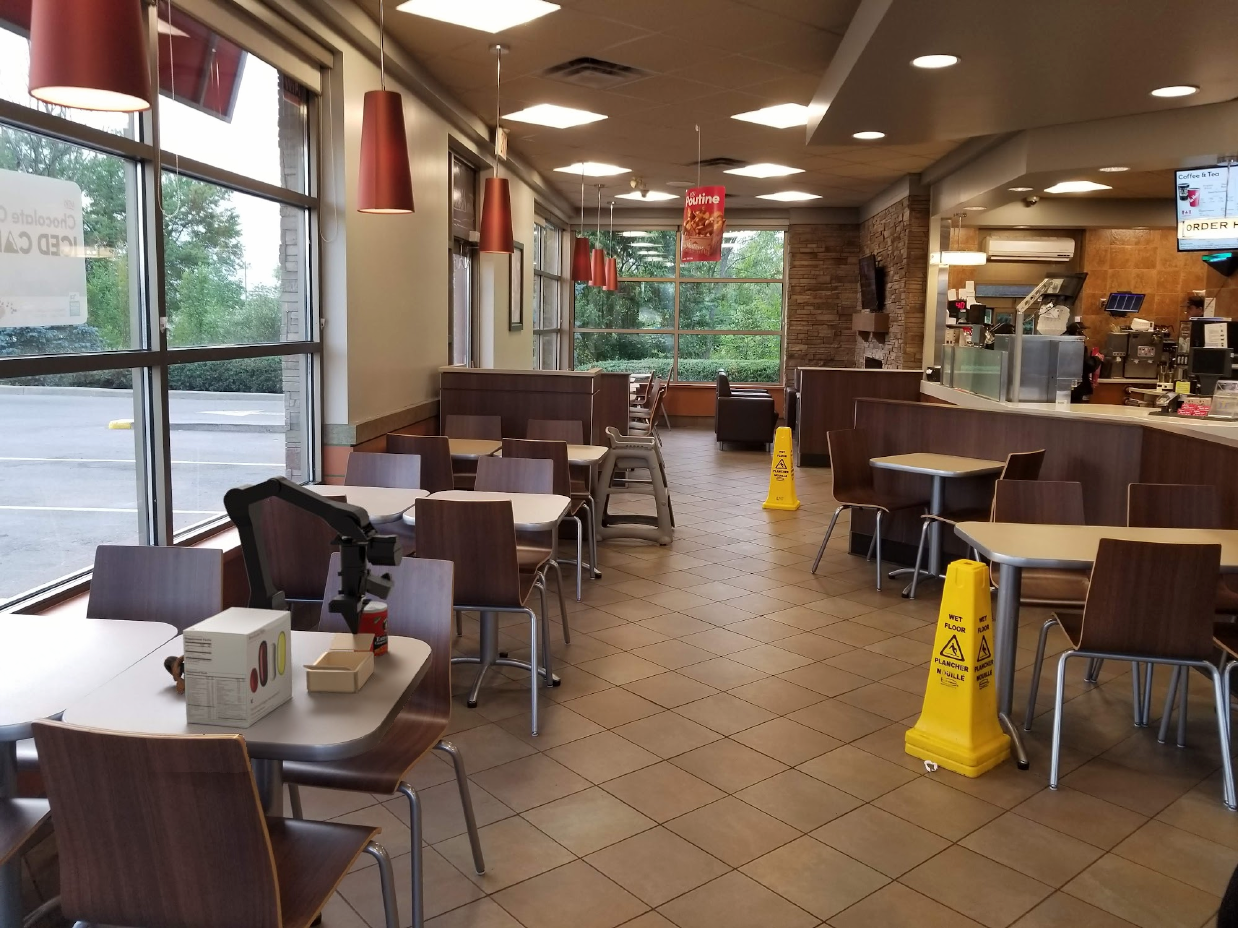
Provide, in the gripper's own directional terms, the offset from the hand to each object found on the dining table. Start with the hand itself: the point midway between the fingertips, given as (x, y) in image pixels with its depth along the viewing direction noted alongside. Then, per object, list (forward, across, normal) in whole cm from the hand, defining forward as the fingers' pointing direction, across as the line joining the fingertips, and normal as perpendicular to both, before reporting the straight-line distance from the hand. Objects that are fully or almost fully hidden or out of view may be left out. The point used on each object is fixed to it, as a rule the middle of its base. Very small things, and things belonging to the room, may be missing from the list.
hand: (355, 633), depth 218 cm
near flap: (+1, -19, 0) cm, 19 cm away
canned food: (+7, +9, -1) cm, 12 cm away
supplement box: (+7, -27, +15) cm, 32 cm away
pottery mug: (+7, -15, +30) cm, 35 cm away
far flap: (+1, -2, 0) cm, 2 cm away
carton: (+7, -11, 0) cm, 13 cm away
